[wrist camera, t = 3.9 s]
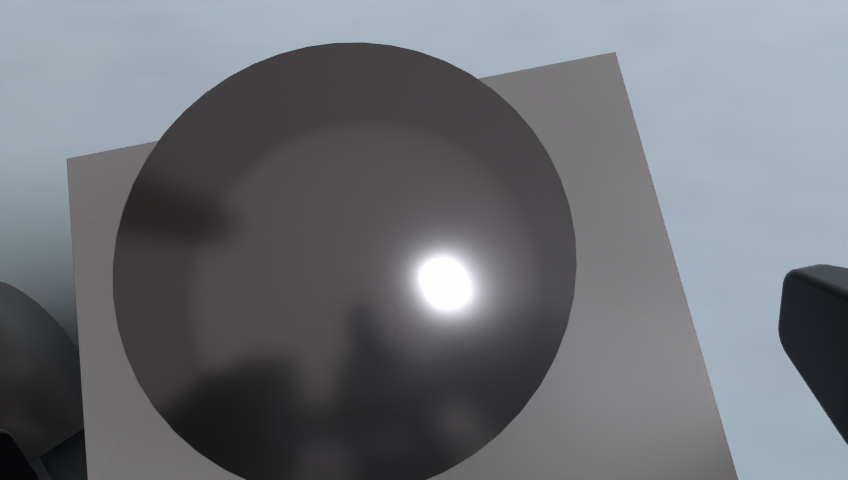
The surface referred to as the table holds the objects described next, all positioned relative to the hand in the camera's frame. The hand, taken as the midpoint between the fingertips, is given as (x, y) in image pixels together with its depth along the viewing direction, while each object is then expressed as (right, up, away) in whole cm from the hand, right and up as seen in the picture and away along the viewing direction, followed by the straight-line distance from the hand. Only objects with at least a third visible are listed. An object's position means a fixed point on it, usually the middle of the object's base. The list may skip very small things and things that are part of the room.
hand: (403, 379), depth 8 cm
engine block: (0, -2, +8) cm, 8 cm away
